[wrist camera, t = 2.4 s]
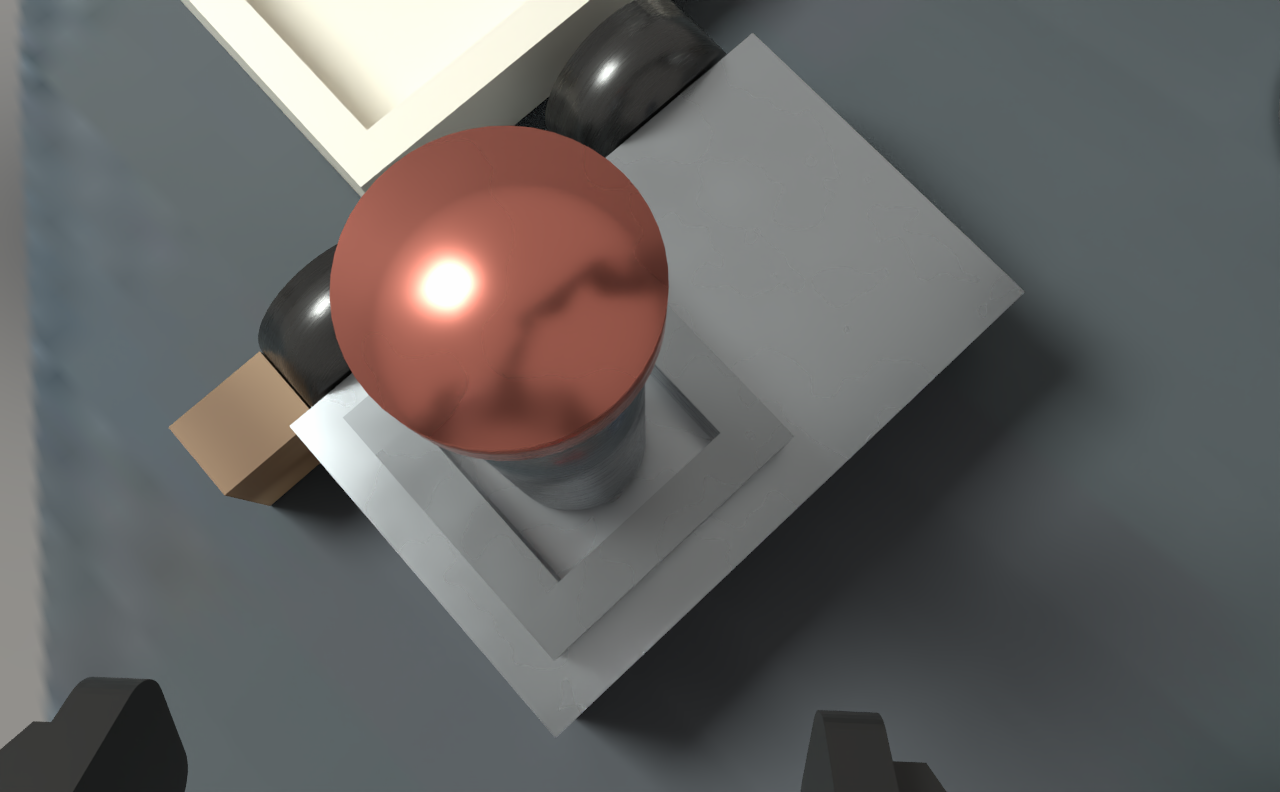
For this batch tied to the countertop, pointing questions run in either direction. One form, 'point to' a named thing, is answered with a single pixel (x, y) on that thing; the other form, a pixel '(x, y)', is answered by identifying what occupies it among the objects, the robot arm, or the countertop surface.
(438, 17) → the tray
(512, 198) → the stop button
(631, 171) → the trolley
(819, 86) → the countertop surface
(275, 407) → the block
